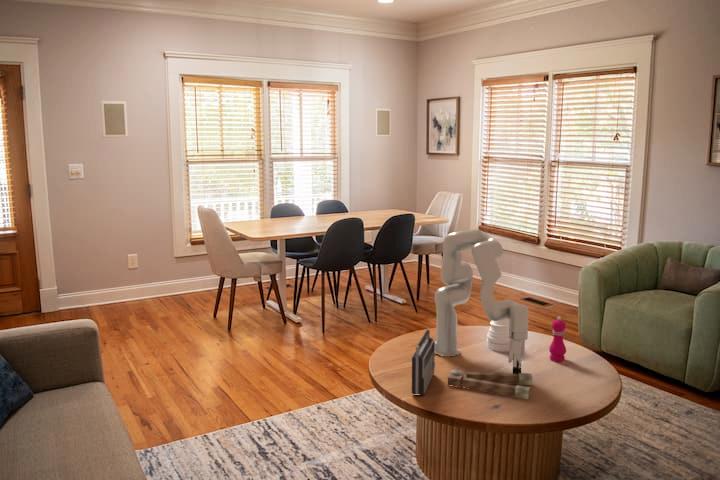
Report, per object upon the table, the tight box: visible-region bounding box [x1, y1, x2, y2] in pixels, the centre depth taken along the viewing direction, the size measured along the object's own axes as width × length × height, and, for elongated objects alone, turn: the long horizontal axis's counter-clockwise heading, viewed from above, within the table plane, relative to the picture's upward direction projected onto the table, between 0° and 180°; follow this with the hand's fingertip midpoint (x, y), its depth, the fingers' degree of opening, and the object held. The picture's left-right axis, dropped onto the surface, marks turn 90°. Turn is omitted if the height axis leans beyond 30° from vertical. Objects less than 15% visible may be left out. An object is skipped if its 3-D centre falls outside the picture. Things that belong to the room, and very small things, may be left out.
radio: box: [411, 328, 436, 396], centre depth 245 cm, size 24×5×20 cm, turn 163°
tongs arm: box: [465, 371, 533, 386], centre depth 247 cm, size 26×3×4 cm, turn 82°
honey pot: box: [486, 318, 511, 352], centre depth 287 cm, size 13×13×18 cm
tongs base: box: [447, 369, 531, 400], centre depth 242 cm, size 32×8×4 cm, turn 64°
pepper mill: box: [548, 316, 567, 363], centre depth 270 cm, size 7×7×20 cm
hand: (516, 376), depth 250 cm, fingers closed
